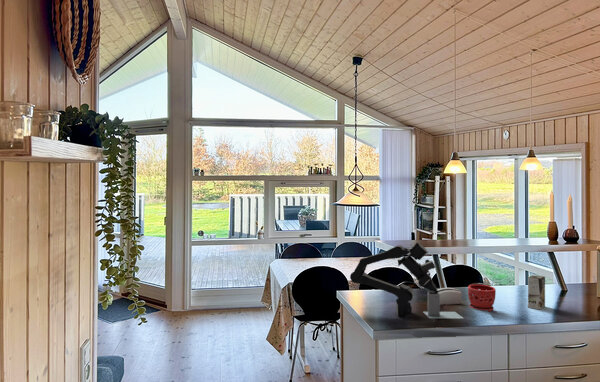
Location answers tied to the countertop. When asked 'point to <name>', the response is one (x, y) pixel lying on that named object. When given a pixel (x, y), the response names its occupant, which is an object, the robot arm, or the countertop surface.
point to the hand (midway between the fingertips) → (436, 290)
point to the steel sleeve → (434, 304)
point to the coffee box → (536, 292)
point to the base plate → (446, 315)
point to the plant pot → (481, 297)
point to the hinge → (449, 296)
